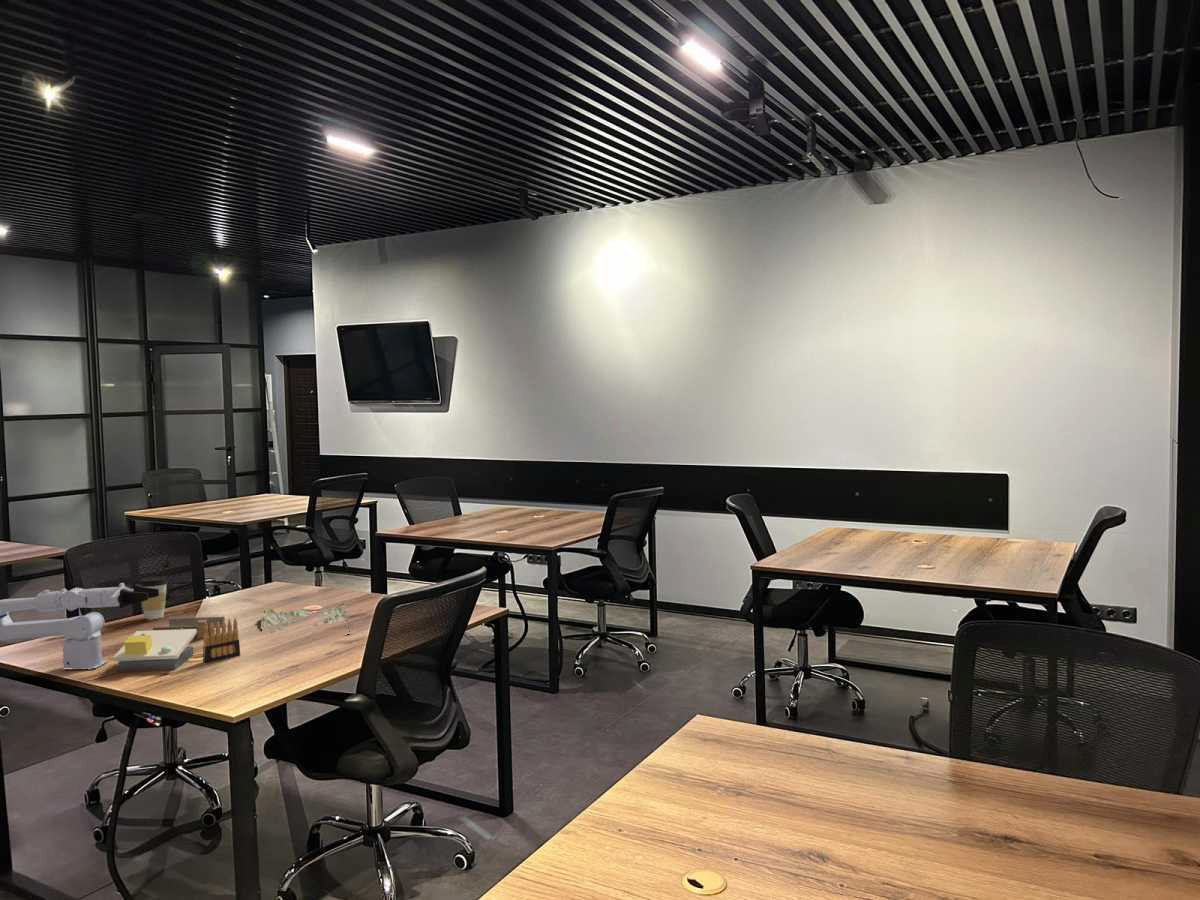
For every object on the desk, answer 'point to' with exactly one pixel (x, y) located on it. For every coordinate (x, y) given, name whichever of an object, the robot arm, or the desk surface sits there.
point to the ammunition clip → (221, 642)
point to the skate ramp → (192, 623)
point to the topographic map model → (274, 617)
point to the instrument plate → (155, 645)
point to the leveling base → (156, 663)
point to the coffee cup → (156, 604)
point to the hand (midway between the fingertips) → (153, 594)
